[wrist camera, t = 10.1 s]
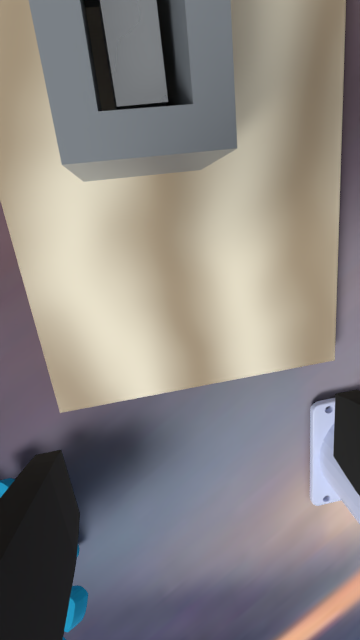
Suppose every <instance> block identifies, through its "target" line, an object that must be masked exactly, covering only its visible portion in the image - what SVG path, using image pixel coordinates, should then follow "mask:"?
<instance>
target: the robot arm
mask: <svg viewBox="0 0 360 640" xmlns="http://www.w3.org/2000/svg"><path fill="white" fill-rule="evenodd" d="M328 406H329V408H328V409H326V407H328ZM325 409H326V410H325ZM310 500H311V501H312V503H313V504H314V505H316V506H318V505H323V504H327V503H332V502H336V501H340V500H342V501H343V503H344V504H345V505H346V507H347V508H348V509H349V511H350V512H351V513H352V515H353V516H354V517H355V519H356V520H357V521H358V523H359V524H360V391H359V390H353V391H348V392H343V393H338V394H335V398H331V399H326V400H321V401H317V402H315V403H314V404H313V405H312V406H311V409H310ZM79 517H80V512H79V509H78V506H77V502H76V499H75V495H74V492H73V488H72V485H71V482H70V478H69V475H68V471H67V468H66V465H65V461H64V458H63V454H62V451H61V450H58V451H53V452H48V453H43V454H38V455H35V456H34V458H33V459H32V460H31V461H30V462H29V463H28V465H27V466H26V467H25V468H24V469H23V471H22V472H21V473H20V474H19V475H18V477H17V478H16V479H15V480H14V482H13V483H12V484H11V485H10V486H9V488H8V489H7V490H6V491H5V493H4V494H3V495H2V496H1V497H0V640H63V634H64V629H65V623H66V617H67V612H68V606H69V601H70V595H71V589H72V583H73V578H74V572H75V566H76V560H77V548H78V534H79Z"/></svg>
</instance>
